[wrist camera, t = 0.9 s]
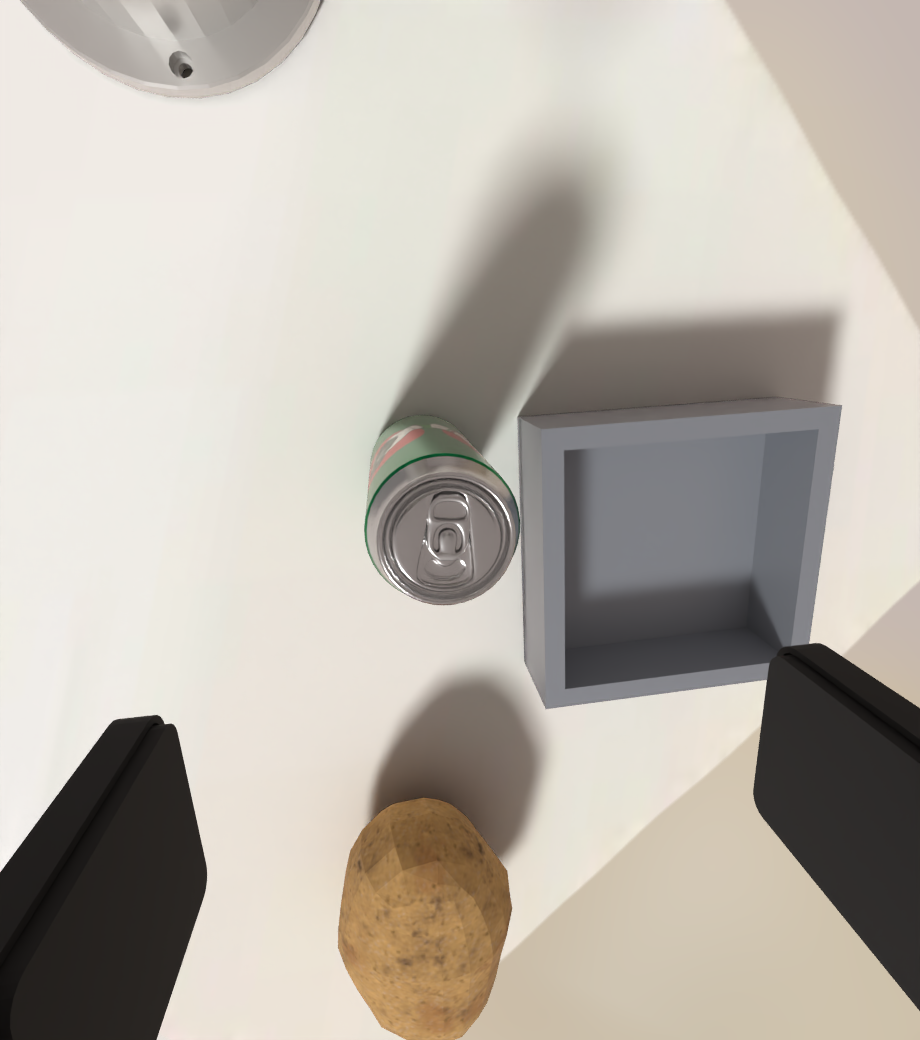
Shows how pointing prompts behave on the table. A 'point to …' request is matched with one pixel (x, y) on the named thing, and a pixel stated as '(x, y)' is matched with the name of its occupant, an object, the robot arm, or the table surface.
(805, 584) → the bin
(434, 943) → the potato
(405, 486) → the soda can
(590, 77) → the table surface
